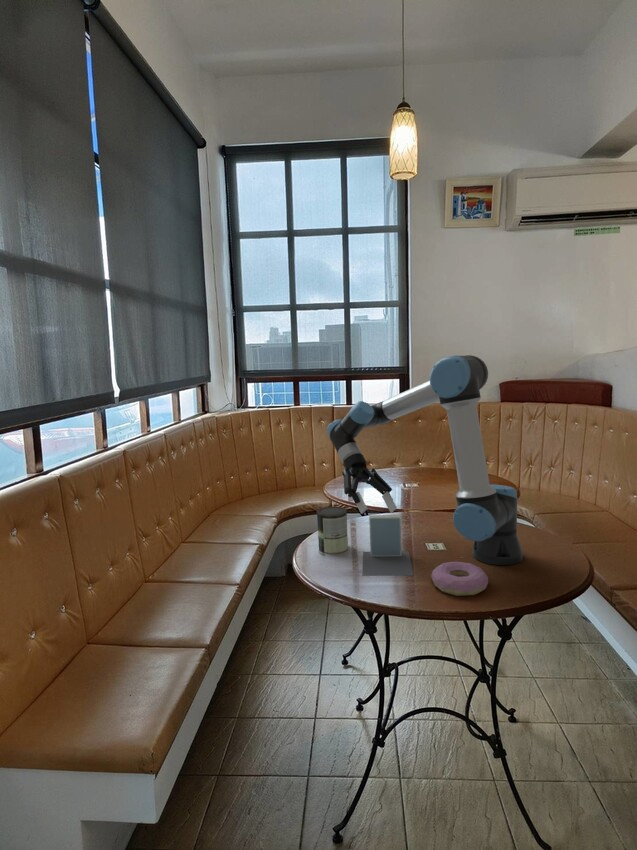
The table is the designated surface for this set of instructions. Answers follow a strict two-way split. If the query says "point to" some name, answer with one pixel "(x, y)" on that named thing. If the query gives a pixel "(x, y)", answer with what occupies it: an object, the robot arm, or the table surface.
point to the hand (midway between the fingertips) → (379, 510)
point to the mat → (387, 565)
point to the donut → (459, 578)
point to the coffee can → (332, 530)
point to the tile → (385, 535)
